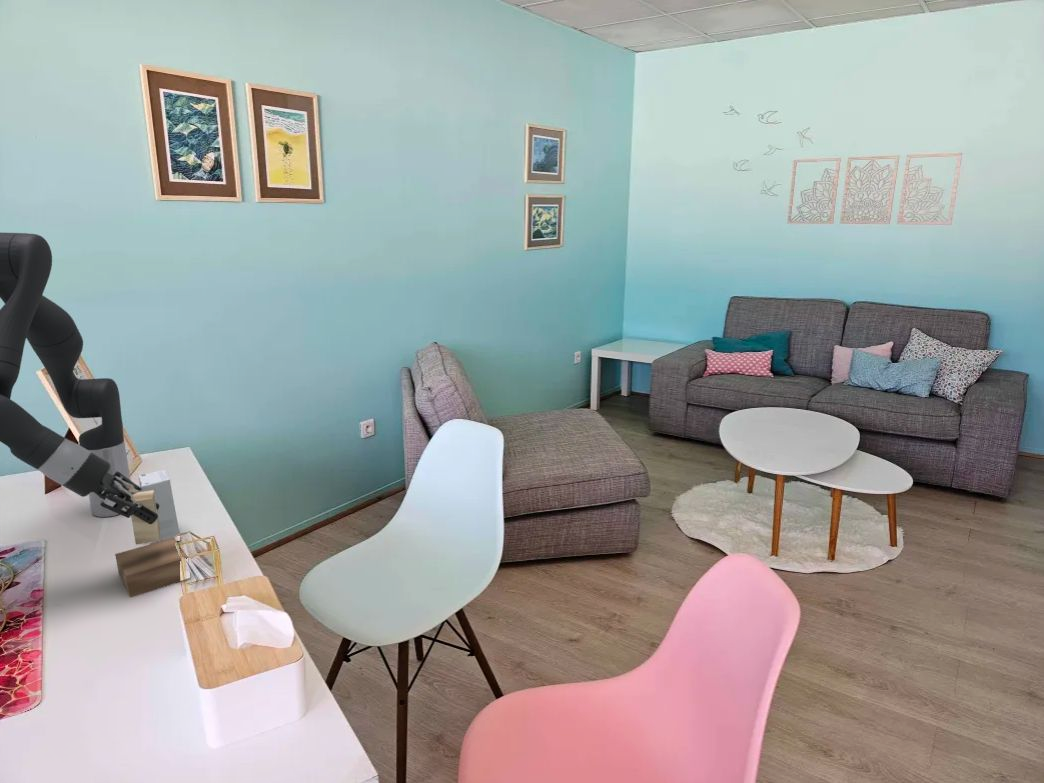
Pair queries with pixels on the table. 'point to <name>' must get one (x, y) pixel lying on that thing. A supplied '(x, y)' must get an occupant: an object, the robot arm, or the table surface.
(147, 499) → the oak post
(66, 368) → the robot arm
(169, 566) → the walnut block
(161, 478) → the skincare box
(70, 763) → the table surface
